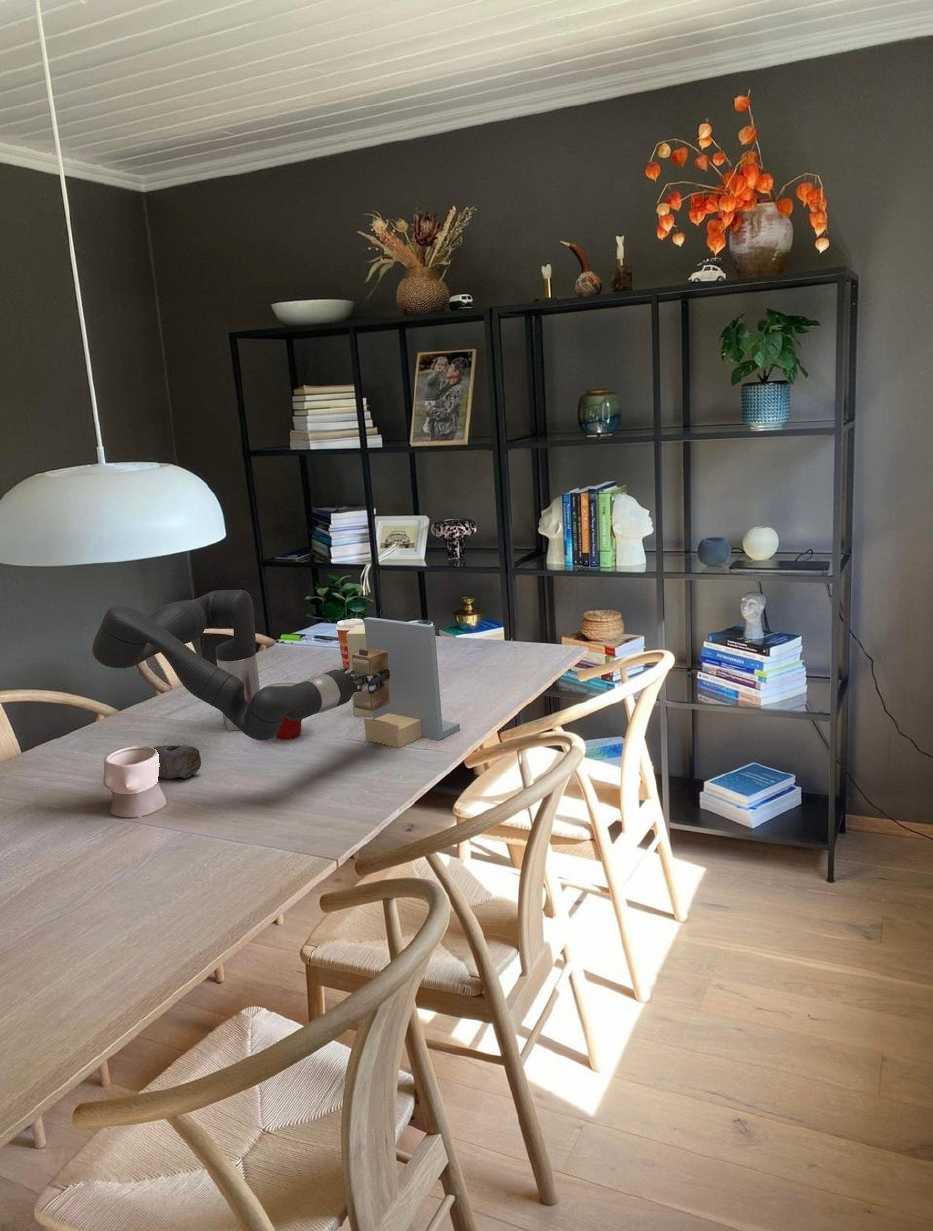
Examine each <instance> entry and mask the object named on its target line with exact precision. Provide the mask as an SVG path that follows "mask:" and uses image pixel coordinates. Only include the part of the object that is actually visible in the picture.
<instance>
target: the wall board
mask: <svg viewBox="0 0 933 1231" xmlns="http://www.w3.org/2000/svg"><path fill="white" fill-rule="evenodd" d="M363 622H364V626H365V637H366V647H367V649H370V648H371V649H377V650H382V651H388V670H390V678H389V700H390V704H388V705H386V706H383V707H381V708H379V709H376V710H374V711H373V716H372V718H369V717H364V718H363V723H364V724H363V725H364V732H365V741H368V740H370V741H369V742H372V741H373V742H372V743H376V742H378V743H377V744H380V743H382V744H381V745H384V744H385V746H389V747H394V748H398V749H401V747H404V746H406V745H408V744H410V743H412V742H414V741H416V740H418V739H420V738H425V739H426V738H427V739H430V740H434V741H435V740H436V741H441V740H443V739H445V738H447V737H449V736H451V735H454V734H455V733H457V732H458V731H460V730H461V724H460V722H459V723H458V722H455V721H454V722H453V721H447V720H443V717H442V704H441V692H440V691H441V690H440V689H441V688H440V678H439V667H438V666H439V664H438V655H437V654H438V653H437V640H436V630H435V629H436V627H435V625H434V624H433V625H432V624H425V623H418V622H410V621H409V622H408V621H403V620H396V619H395V620H394V619H385V618H378V617H369V616H367V617H363Z"/></svg>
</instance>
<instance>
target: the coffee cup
mask: <svg viewBox="0 0 933 1231" xmlns="http://www.w3.org/2000/svg"><path fill="white" fill-rule="evenodd" d="M357 625H364V619H362V618H350V619H344V620H339V621H337V623H336V626H335V629H336V631H337V635H338V636H337V638H338V643H339V649H340V656H341V661H342V669H343V668H349V658H348V648H347V637H346V634H347V633H348V632H349V631H350V630H351V629H352V628H353V627H355V626H357ZM349 670H350V668H349Z"/></svg>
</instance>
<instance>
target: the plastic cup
mask: <svg viewBox="0 0 933 1231" xmlns="http://www.w3.org/2000/svg"><path fill="white" fill-rule="evenodd" d="M298 683H301V682H300V681H294V680H281V681H273V682H270V683H269V682H268V683H265V684H263V685H262V686H261V685H260V689H262V688H264V687H268V686H293V685H295V684H298ZM260 689H259V690H260ZM302 720H303V719H301V720H290V719H288V718H287V717H285V716H284V719H283V721H282V723H281V725H280V728H279V730H278V732H277V734H276V735H275V736H274V737H275V738H276V740H282V741H286V740H287V741H288V740H292V739H296V738H298V737H300V736H301V732H302V722H303V721H302Z"/></svg>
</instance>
